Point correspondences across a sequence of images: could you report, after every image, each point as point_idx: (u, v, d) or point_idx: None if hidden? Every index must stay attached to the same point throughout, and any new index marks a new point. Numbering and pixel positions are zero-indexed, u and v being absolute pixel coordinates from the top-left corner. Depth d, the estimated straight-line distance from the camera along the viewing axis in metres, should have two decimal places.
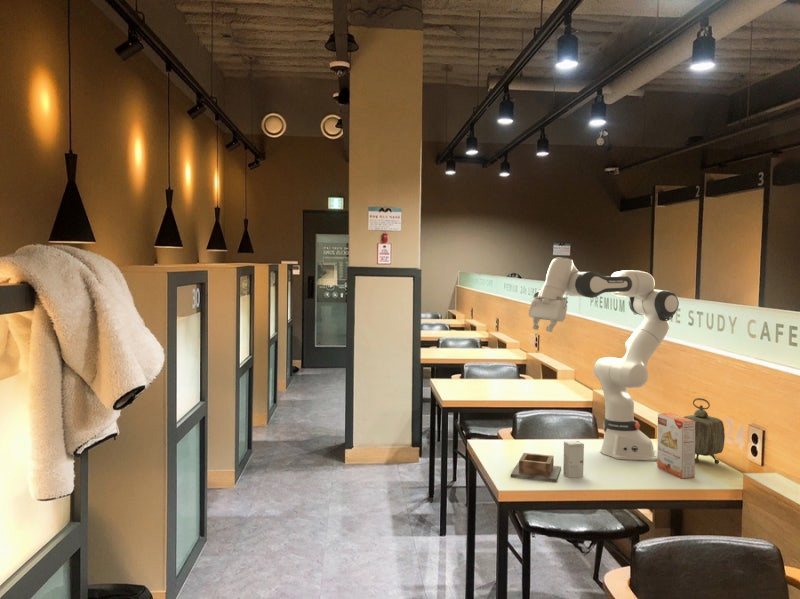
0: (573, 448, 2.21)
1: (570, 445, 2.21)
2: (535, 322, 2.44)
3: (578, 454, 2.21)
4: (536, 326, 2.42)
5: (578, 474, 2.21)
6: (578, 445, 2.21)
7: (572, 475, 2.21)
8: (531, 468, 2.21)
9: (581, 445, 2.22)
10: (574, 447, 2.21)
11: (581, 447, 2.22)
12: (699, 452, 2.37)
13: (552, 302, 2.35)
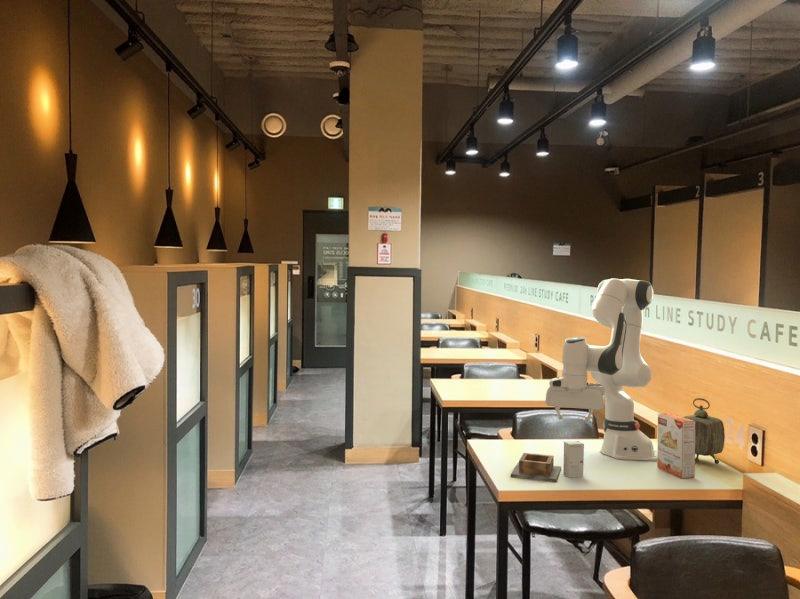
0: (573, 448, 2.21)
1: (570, 445, 2.21)
2: (558, 411, 2.24)
3: (578, 454, 2.21)
4: (562, 415, 2.24)
5: (578, 474, 2.21)
6: (578, 445, 2.21)
7: (572, 475, 2.21)
8: (531, 468, 2.21)
9: (581, 445, 2.22)
10: (574, 447, 2.21)
11: (581, 448, 2.22)
12: (699, 452, 2.37)
13: (586, 391, 2.19)
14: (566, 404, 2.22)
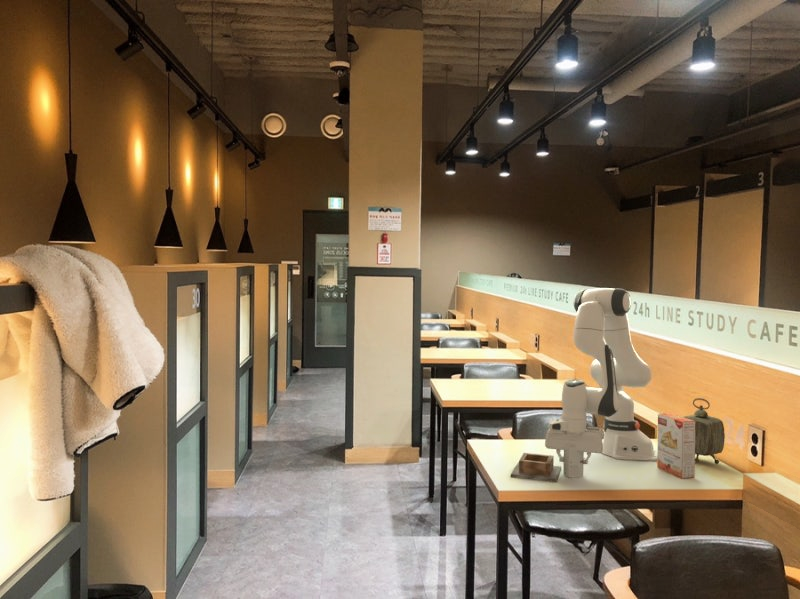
0: (573, 448, 2.21)
1: (570, 445, 2.21)
2: (559, 454, 2.25)
3: (578, 454, 2.21)
4: (563, 458, 2.24)
5: (577, 474, 2.21)
6: None
7: (572, 475, 2.21)
8: (531, 468, 2.21)
9: None
10: (574, 447, 2.21)
11: None
12: (699, 452, 2.37)
13: (585, 434, 2.20)
14: (565, 447, 2.22)
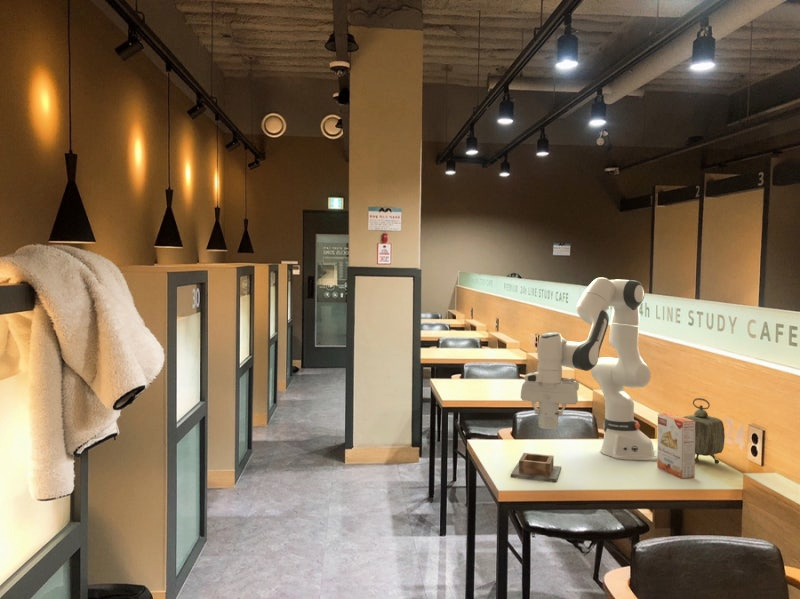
0: (548, 400, 2.22)
1: (545, 396, 2.22)
2: (535, 406, 2.25)
3: (553, 406, 2.22)
4: (538, 410, 2.25)
5: (552, 426, 2.22)
6: None
7: (547, 427, 2.22)
8: (531, 468, 2.21)
9: None
10: (549, 399, 2.22)
11: None
12: (699, 452, 2.37)
13: (560, 386, 2.21)
14: (541, 399, 2.23)
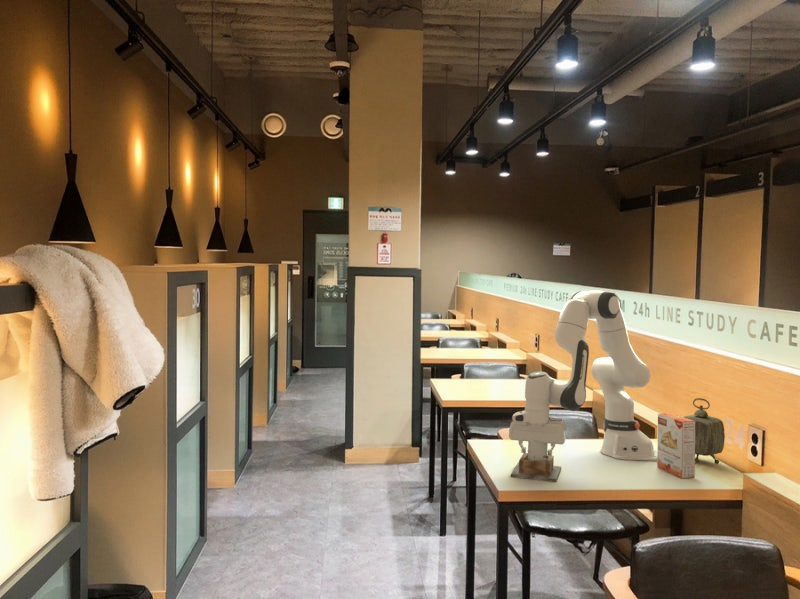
0: (537, 443, 2.24)
1: (534, 440, 2.23)
2: (522, 445, 2.27)
3: (542, 449, 2.24)
4: (525, 449, 2.27)
5: None
6: None
7: None
8: (531, 468, 2.21)
9: None
10: (538, 442, 2.24)
11: (545, 443, 2.24)
12: (699, 452, 2.37)
13: (547, 426, 2.22)
14: (529, 438, 2.25)
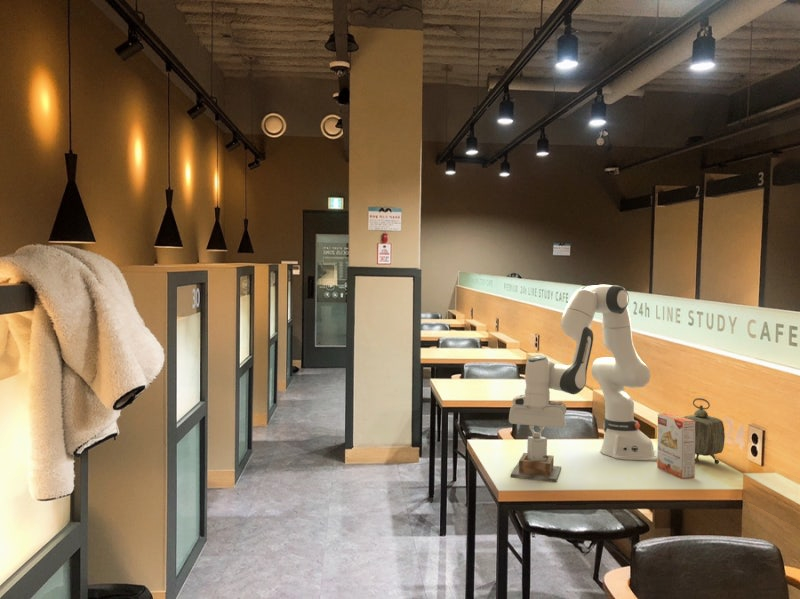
0: (536, 443, 2.24)
1: (533, 440, 2.23)
2: (532, 429, 2.26)
3: (541, 449, 2.24)
4: None
5: None
6: (541, 440, 2.24)
7: None
8: (531, 468, 2.21)
9: (544, 440, 2.24)
10: (537, 442, 2.24)
11: (544, 443, 2.24)
12: (699, 452, 2.37)
13: (548, 409, 2.22)
14: (529, 422, 2.25)
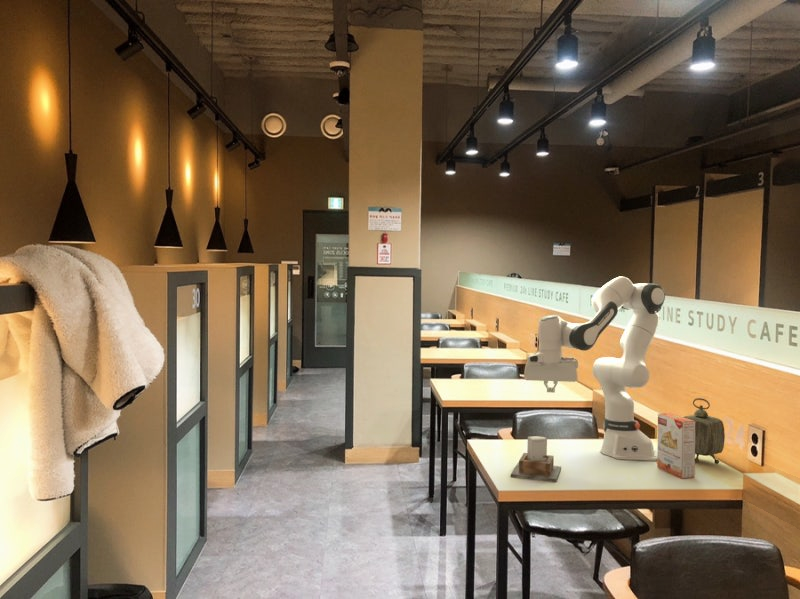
0: (536, 443, 2.24)
1: (533, 440, 2.23)
2: (547, 385, 2.40)
3: (541, 449, 2.24)
4: None
5: None
6: (541, 440, 2.24)
7: None
8: (531, 468, 2.21)
9: (544, 440, 2.24)
10: (537, 442, 2.24)
11: (544, 443, 2.24)
12: (699, 452, 2.37)
13: (561, 365, 2.36)
14: (543, 378, 2.39)
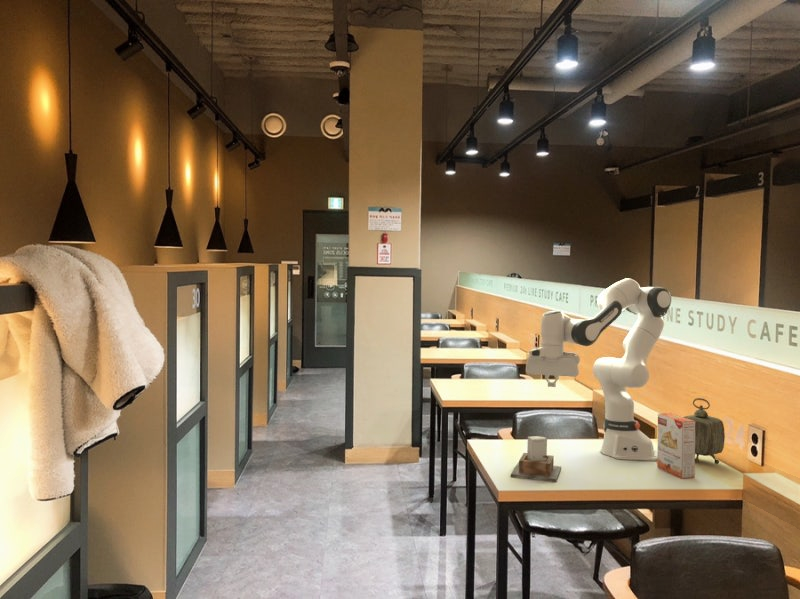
0: (536, 443, 2.24)
1: (533, 440, 2.23)
2: (548, 379, 2.42)
3: (541, 449, 2.24)
4: (551, 383, 2.42)
5: None
6: (541, 440, 2.24)
7: None
8: (531, 468, 2.21)
9: (544, 440, 2.24)
10: (537, 442, 2.24)
11: (544, 443, 2.24)
12: (699, 452, 2.37)
13: (562, 359, 2.39)
14: (544, 372, 2.41)
